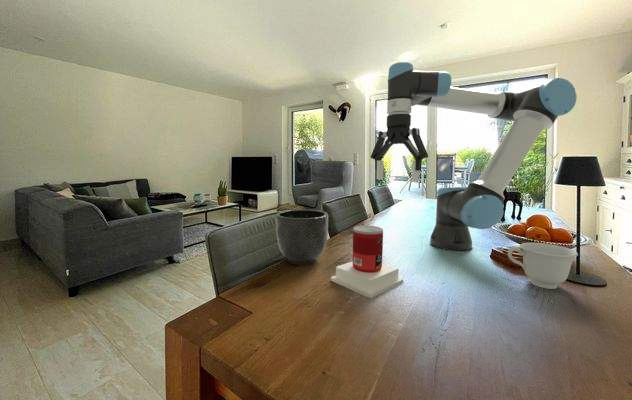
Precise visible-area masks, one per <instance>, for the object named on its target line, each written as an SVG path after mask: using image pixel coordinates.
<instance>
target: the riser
mask: <svg viewBox="0 0 632 400" xmlns="http://www.w3.org/2000/svg"><path fill="white" fill-rule="evenodd" d="M399 270H400V269H399V268H398V267H394V266H392V265H388V264H385V263H383V262H382V267H381V270H380V271H378V272H372V273H367V272H361V271H358V270H356V269H355V268H354V267H353V260H352V261H350V262H346V263H344V264H340V265H338V266H335V275H333V276H330V282H331V281H332V282H334V283H335V284H338V285H340V286H343V287H344V288H347V289H348V290H351V291H353V292H355V293H358V294H359V295H362V296H364V297H366V298H369V299H373V298H375V297H377V296H379V295H381V294H383V293H385V292H387V291H389V290H392V289H393V288H395V287H396V288H397V286H400V285H401V284H404V279H403V278H400V277H399Z"/></svg>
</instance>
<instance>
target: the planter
mask: <svg viewBox="0 0 632 400" xmlns="http://www.w3.org/2000/svg"><path fill="white" fill-rule="evenodd" d="M275 231H276V232H275V233H276V240H277V245H278V248H279V250H280V252H281V254H282V256H284V257H285V259H287V261H288V262H289V263H290V262H291V263H290V264H292V263H293V265H295V264H297V266H306V265H307V266H308V265H311V264H313V263H316V261H317V259H318V258H319V257H320V256H321V255H322V254H323V252H324V251H325V249H326V247H327V246H326V245H327V241H328V233H329V213H328V212H326V211H324V210H317V209H289V210H282V211H279V212H277V213H276V214H275Z"/></svg>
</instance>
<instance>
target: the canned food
mask: <svg viewBox="0 0 632 400" xmlns="http://www.w3.org/2000/svg"><path fill="white" fill-rule="evenodd" d="M352 228H353V229H352V261H353V267H354V268H355V269H356V270H358V271H361V272H367V273H372V272H378V271H380V270H381V267H382V263H383V251H384V249H383V246H384V229H383V228H382V227H379V226H376V225H357V226H354V227H352Z"/></svg>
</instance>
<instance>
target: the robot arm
mask: <svg viewBox="0 0 632 400" xmlns="http://www.w3.org/2000/svg"><path fill="white" fill-rule="evenodd" d="M414 69H415V68H414V65H413V63H412V62H408V61H399V62H395V63H393V64H391V65H390V66H389V68H388V76H387V105H386V106H387V107H386V109H387V110H386V113H387V116H386V128H387V130H386V131H382V130H380V131H379V132H378V137H377V140H376V143H375V144H374V147H373V150H372V152H371V155H370V159H373V160H374V161H375V165H374V168H375V170H376V180H384V162H385V161H384V160H383V159H384V157H385V155H386V153H387V152H388V151H389V149H391V147H392V146H393V145H398V144H401V145H404V146H405V147H406V149H407V150H408V152H409V153H410V154H411V156H412V157H413V158H414V159H413V160H411V161H412V164H411V182H419V173H420V171H421V170H422V163H423V162H422V161H423V160H425V159H427V158H428V157H429V154H428V152H427V149H426V147H425V145H424V143H423V140H422V137H421V134H420V128H419V127H417V128H416V127H412V128H410V127H411V124H412V123H411V121H412V120H411V119H412V115H411V113H412V107H413V106H423V107H425V106H426V107H431V108H438V109H439V108H440V109H446V110H454V111H461V112H468V113H475V114H482V115H483V114H484V115H487V116H488V117H489V118H492V119H498V120H503V121H509V122H510V121H511V122H513V123H512V125H511V126H510V127H509V129H508V131H507V133H506V134H505V136H504V137H503V139H502V141H501V142H500V144H499V145H498V147H497V148H496V149H495V152H494V153H493V155H492V156H491V157H490V159H489V161H488V163H487V165H486V166H485V167H484V168H483V171H482V172H481V174H480V175H479V176H478V179H477V180H475V181H471V182H470V183H469V184H468V185H467V186H451V187H449V186H448V187H445V186H444V187H439V189H438V190H437V194H436V213H435V225H434V228H433V231H432V233H431V235H430V241H429V243H431V244H430V245H432V244H433V245H435V246H434V247H436V246H438V247H437V248H439V247H441V248H440V249H443V248H445V250H449V249H450V251H451V250H452V251H468V250H471V249H472V248H473V240H472V239H473V238H472V235H471V232H470V229H469V228H472V229H478V230H487V229H490V228H492V227H495V226H496V225H497V224H498V223H499V222H500V221H501V220H502V218H503V216H504V203H503V202H504V201H505V199H506V198H505V195H504V191H505V190H506V188H507V187H508V185H509V183H511V182H510V181H511V180H512V179H513V178H514V175H515V174H516V172H517V171H518V170H519V168H520V166H521V165H522V163H523V162H524V160H525V158H526V157H527V155H528V154H529V152H530V150H531V149H532V148H533V146H534V145H535V143H536V141H537V140H538V138H539V137H540V135H541V133H542V132H543V131H545V130H548V129H550V128H552V126H553V125H554V123H555V122H556V120H557V119H558V117H559V116H566V114H568V113H570V112H571V111H572V110H573V109H574V108H575V105H576V102H577V99H578V98H577V95H578V94H577V91H576V88H575V86H574V84H572V82H570V81H569V80H568V79H565V78H562V77H556V78H551V79H550V78H549V79H546V80H544V81H542V82H541V81H540V82H539V83H535V84H531V85H529V86H526V87H524V88H519V89H516V90H511V91H502V90H498V91H495V92H489V91H488V92H487V91H481V90H473V89H466V88H459V87H453V86H452V76H451V74H450V72H448V71H441V70H438V71H436V70H435V71H434V70H433V71H431V70H429V71H428V70H414ZM410 135H411V136H412V140H413V142H414V144H415V145H414V144H413V142H412V140H411V139H410V138H409V137H410ZM415 146H416V147H415ZM433 245H432V246H433Z"/></svg>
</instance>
